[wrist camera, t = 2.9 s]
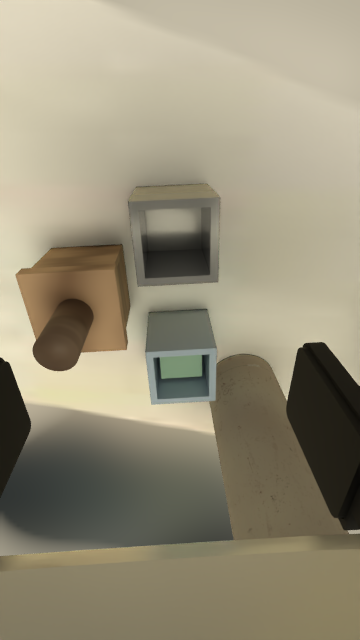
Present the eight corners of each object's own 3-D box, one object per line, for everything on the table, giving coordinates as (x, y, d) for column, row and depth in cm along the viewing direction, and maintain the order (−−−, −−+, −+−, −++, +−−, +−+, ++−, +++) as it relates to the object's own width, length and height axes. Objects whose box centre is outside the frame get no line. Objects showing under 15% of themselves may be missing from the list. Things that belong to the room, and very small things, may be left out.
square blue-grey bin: (206, 309, 33) (216, 348, 27) (206, 356, 36) (215, 400, 30) (148, 312, 33) (145, 352, 27) (153, 359, 36) (151, 404, 30)
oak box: (122, 244, 29) (113, 267, 24) (130, 306, 32) (123, 338, 27) (51, 247, 29) (26, 272, 24) (66, 309, 32) (48, 343, 27)
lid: (116, 263, 24) (102, 300, 18) (127, 341, 27) (119, 392, 22) (21, 268, 23) (-20, 307, 18) (45, 346, 27) (16, 398, 22)
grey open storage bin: (207, 183, 27) (220, 197, 21) (207, 252, 30) (218, 282, 24) (136, 186, 27) (128, 201, 21) (143, 256, 30) (137, 286, 24)
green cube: (197, 320, 33) (201, 342, 29) (198, 352, 35) (202, 376, 31) (159, 323, 33) (158, 345, 29) (161, 354, 35) (161, 378, 31)
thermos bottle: (259, 409, 40) (402, 819, 16) (198, 400, 39) (256, 830, 15) (283, 360, 37) (520, 799, 12) (218, 348, 35) (337, 811, 11)
